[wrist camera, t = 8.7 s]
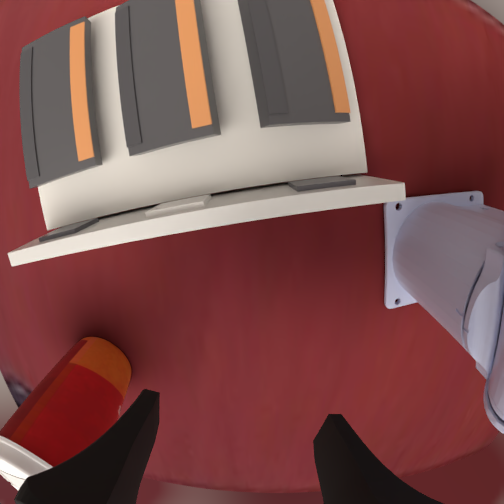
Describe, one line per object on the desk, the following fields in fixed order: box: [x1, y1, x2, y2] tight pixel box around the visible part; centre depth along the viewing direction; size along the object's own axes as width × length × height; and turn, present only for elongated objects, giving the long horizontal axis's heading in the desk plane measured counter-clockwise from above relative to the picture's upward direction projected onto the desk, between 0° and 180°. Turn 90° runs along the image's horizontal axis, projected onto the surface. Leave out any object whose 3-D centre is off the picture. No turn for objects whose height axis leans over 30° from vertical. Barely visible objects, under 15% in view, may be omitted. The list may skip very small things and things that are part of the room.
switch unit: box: [8, 0, 406, 266], centre depth 13 cm, size 21×15×6 cm
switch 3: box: [238, 0, 351, 128], centre depth 12 cm, size 5×10×1 cm, turn 8°
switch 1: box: [20, 17, 103, 188], centre depth 13 cm, size 5×10×1 cm, turn 9°
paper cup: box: [0, 337, 132, 490], centre depth 15 cm, size 8×8×14 cm
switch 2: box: [115, 0, 221, 156], centre depth 13 cm, size 5×10×1 cm, turn 9°
